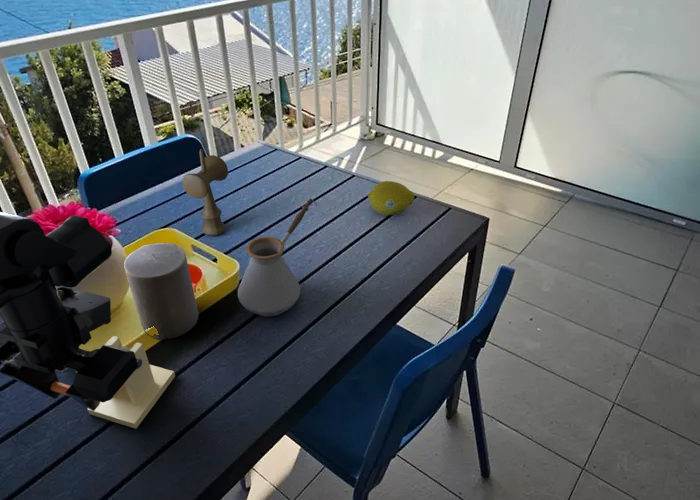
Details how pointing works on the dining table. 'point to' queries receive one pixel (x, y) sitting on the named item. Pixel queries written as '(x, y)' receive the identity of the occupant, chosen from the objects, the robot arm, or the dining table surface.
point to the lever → (63, 388)
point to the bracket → (135, 390)
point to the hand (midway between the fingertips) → (76, 401)
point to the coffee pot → (270, 275)
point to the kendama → (207, 191)
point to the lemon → (390, 198)
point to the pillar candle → (162, 289)
